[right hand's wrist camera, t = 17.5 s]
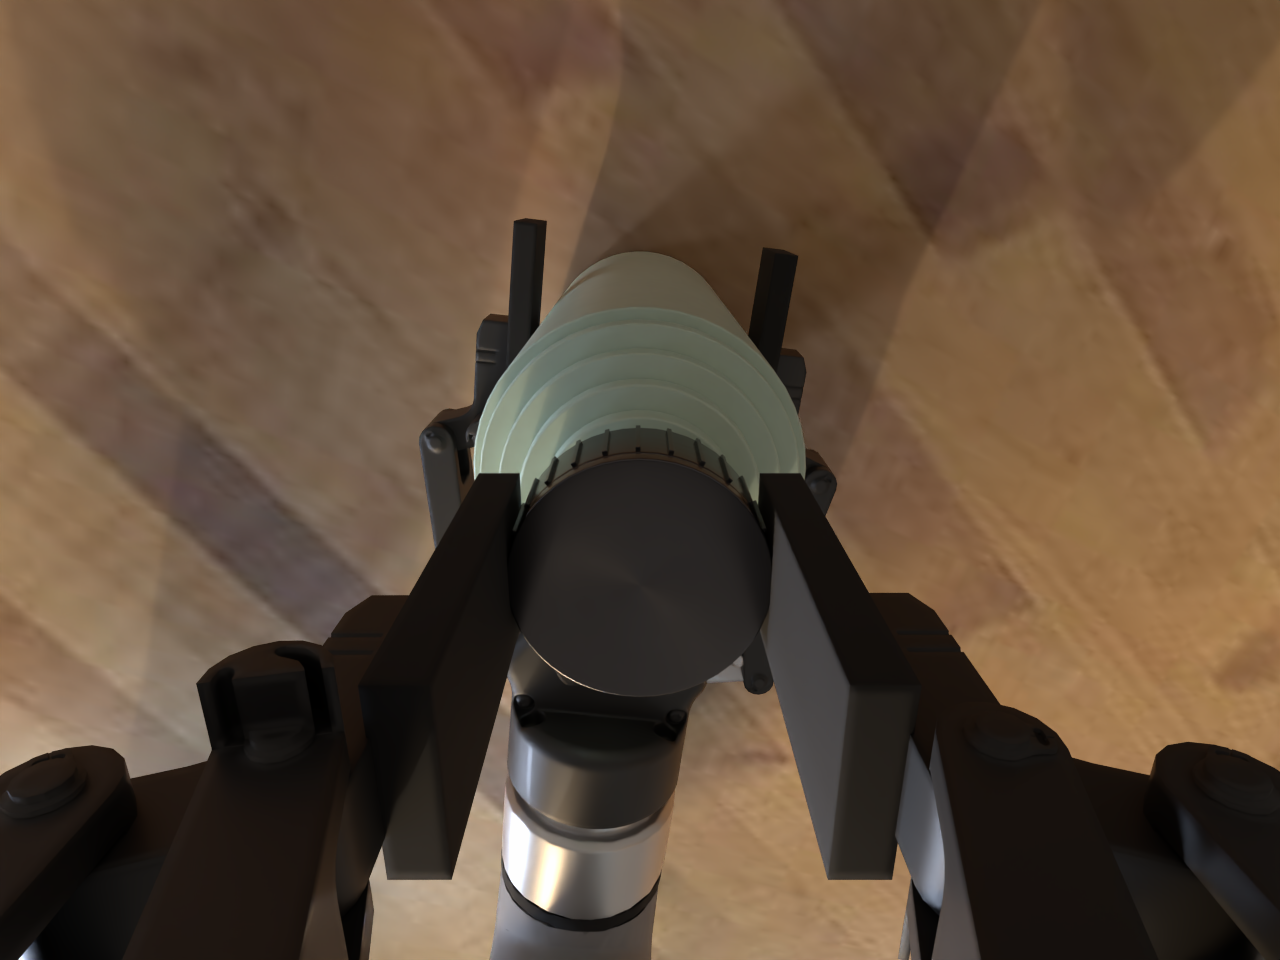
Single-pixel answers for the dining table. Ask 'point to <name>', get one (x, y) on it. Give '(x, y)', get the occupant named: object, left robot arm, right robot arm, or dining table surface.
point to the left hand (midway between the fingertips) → (656, 237)
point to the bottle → (639, 376)
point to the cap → (639, 563)
